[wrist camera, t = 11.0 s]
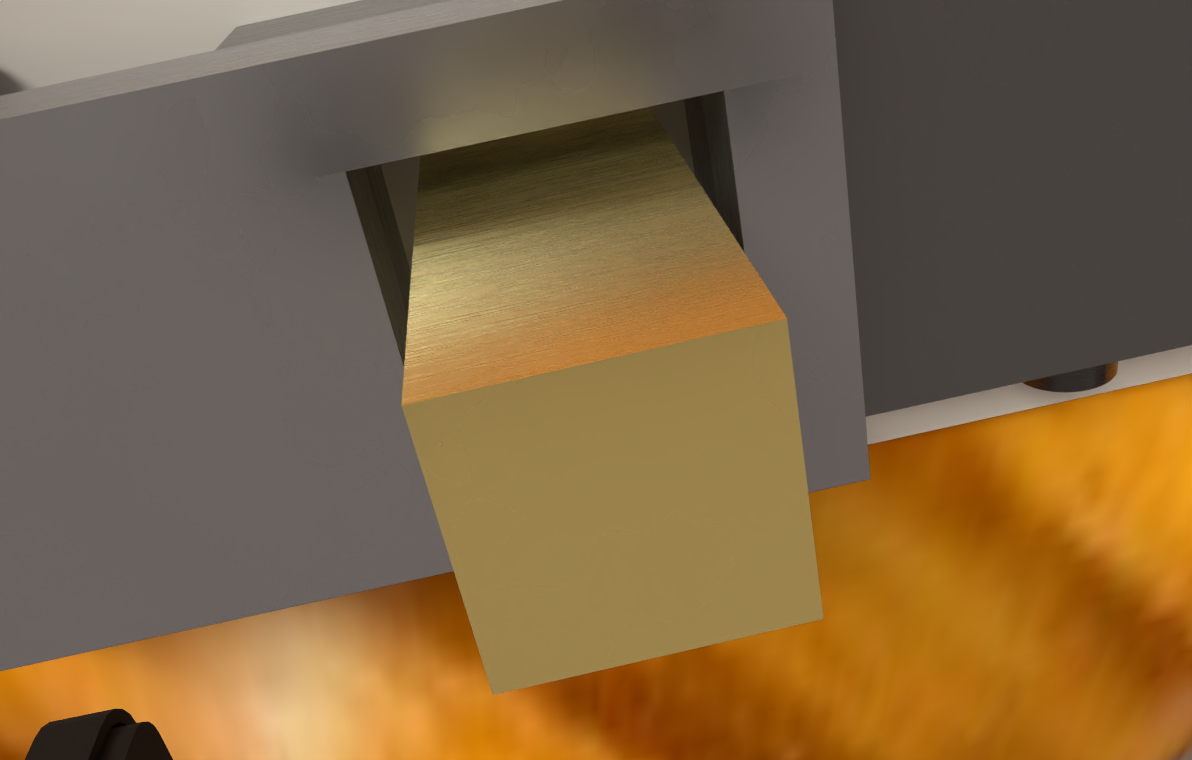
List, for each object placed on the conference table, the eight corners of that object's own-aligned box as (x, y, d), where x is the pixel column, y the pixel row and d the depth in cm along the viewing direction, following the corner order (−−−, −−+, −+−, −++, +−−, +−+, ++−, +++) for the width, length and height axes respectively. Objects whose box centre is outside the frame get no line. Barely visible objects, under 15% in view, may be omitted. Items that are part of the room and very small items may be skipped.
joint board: (1300, -334, 19) (1342, -339, 18) (1235, 338, 25) (1263, 357, 25) (-385, 19, 19) (-427, 29, 18) (-38, 617, 25) (-56, 647, 24)
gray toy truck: (1302, -230, 19) (1495, -236, 16) (1247, 300, 24) (1387, 388, 20) (-342, 116, 19) (-527, 191, 15) (-65, 588, 23) (-156, 729, 20)
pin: (638, 90, 20) (787, 318, 11) (673, 290, 22) (823, 619, 13) (421, 138, 20) (400, 405, 11) (474, 335, 22) (493, 694, 13)
